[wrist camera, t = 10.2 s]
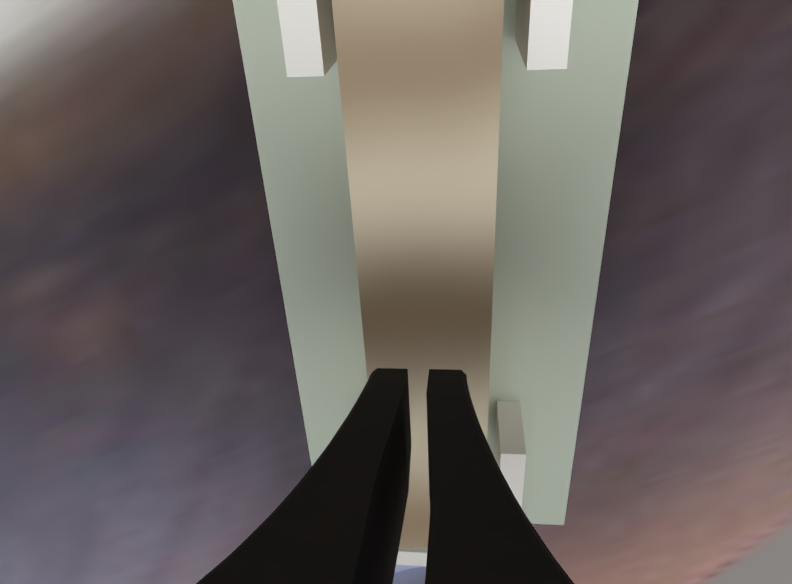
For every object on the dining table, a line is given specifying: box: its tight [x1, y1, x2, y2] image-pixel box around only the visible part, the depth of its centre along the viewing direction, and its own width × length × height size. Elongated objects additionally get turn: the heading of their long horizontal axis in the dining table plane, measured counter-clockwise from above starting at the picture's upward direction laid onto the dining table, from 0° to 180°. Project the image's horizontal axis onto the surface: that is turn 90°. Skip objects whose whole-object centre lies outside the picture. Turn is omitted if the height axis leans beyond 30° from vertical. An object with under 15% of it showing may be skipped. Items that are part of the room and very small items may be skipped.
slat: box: [332, 0, 504, 548], centre depth 17 cm, size 16×3×5 cm, turn 3°
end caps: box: [277, 0, 573, 566], centre depth 18 cm, size 23×6×4 cm, turn 3°
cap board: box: [233, 0, 639, 525], centre depth 20 cm, size 24×10×1 cm, turn 3°
